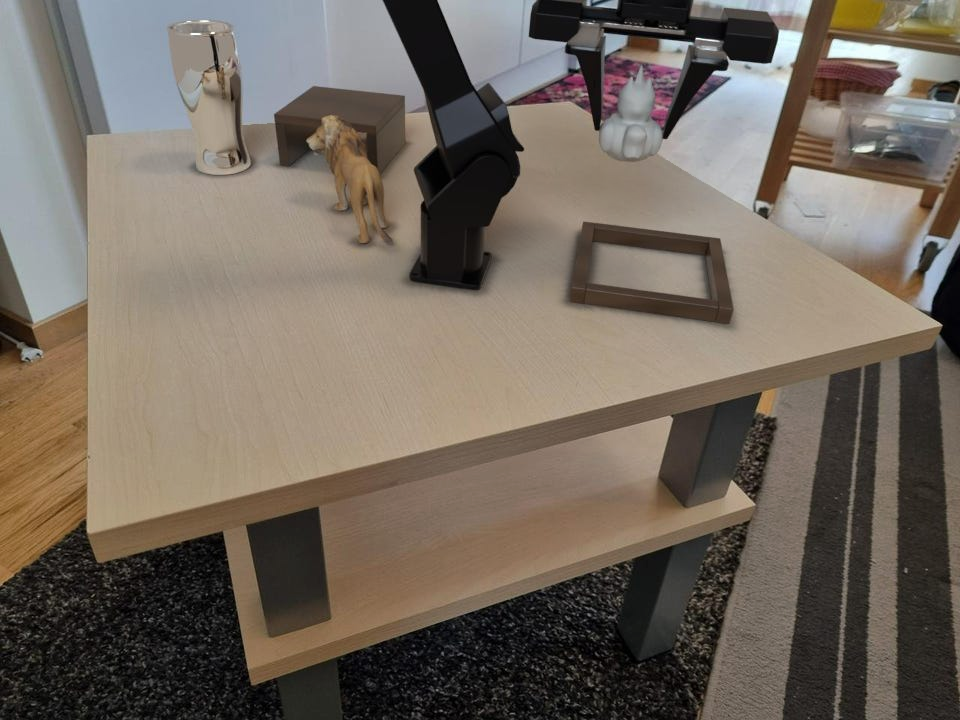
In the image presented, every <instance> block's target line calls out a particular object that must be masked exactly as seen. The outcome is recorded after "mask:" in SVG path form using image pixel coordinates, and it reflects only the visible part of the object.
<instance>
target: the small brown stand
mask: <svg viewBox="0 0 960 720" xmlns="http://www.w3.org/2000/svg"><path fill="white" fill-rule="evenodd" d="M329 115H333V116H335V115H336V116H339V117H340V118H342V119H344V120H346V122H347V123H349V124H350V125H351V127H352V128H353V129H355V131H356V133H362V134H365V138H366V150H367V159H368V160H369V161H370V163H371V164H372V165H374V166H375V167H376V168H377V169H378V172H379V174H380V175H381V174H382V172H383V171H384V170H385V169H386V167H387V166H388V165H389V164H390V162H392V160H393V159H394V157H395V156H397V155H398V152H400V150H401V149H402V148H403V147H404V145H406V141H407V140H406V95H403V94H402V95H401V94H392V93H384V92H375V91H364V90H357V89H356V90H355V89H346V88H337V87H326V86H317V85H313V86H311V87H309V88H308V89H306V90H305V91H304V92H303V93H301V94H300V95H298V96H297V97H295V98H294V99H293V100H292V101H290V102H288V103H287V104H286V105H285V106H283V107H282V108H281V109H279V110H278V111H276V112H275V113H273V118H274V127H275V134H276V144H277V153H278V160H279V165H280V166H284V167H290V166H292V164H294V163H295V162H296V161H297V160H298V159H299V158H301V156H303V155H304V154H305V153H306V152H307V151H308V150H309V149H311V148H310V146H309V144H308V143H307V141H306V140H307V139H308V138H309V137H310V136H312V135H313V134H314V133H316V131H317V129H318V128H319V127H321V126H322V118H323V117H326V116H329Z"/></svg>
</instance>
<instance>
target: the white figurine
mask: <svg viewBox="0 0 960 720" xmlns="http://www.w3.org/2000/svg"><path fill="white" fill-rule="evenodd" d="M656 97H657V96H656V92H655V89H654V86H653V81H652V79H651V77H648V78H647V79H646V80H645V79H644V68H643V64H641V65H640V67H639V70H638V72H637V75H636V78H635V80H634V77H633V75H631V76H630V77H629V78H628V80H627V81H626V83H625V84H624V86H622V88H621V89H620V90H619V93H618V99H617V105H616V108H617V111H618V112H614V113H612V114H611V115H610V117H608V118H606V119H604V120H603V122H601V124H600V130H599V131H598V143H599V146H600V149H601V151H602V152H603V153H606V154H607V156H608V157H610V158H612V159H613V160H614V161H615V160H616V161H619V162H626V163H637V162H642V161H643V160H646V159H647V158H649V157H654V156H656V155H657V154H658V152H659V151H660V149H661V147H662V145H663V141H664V139H663V130H662V127H661V126H660V124H659V123H657V122H656V121H655V120H654V119H653V118H652V117H651V115H652V114H653V112H654V109H655V104H656Z"/></svg>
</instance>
